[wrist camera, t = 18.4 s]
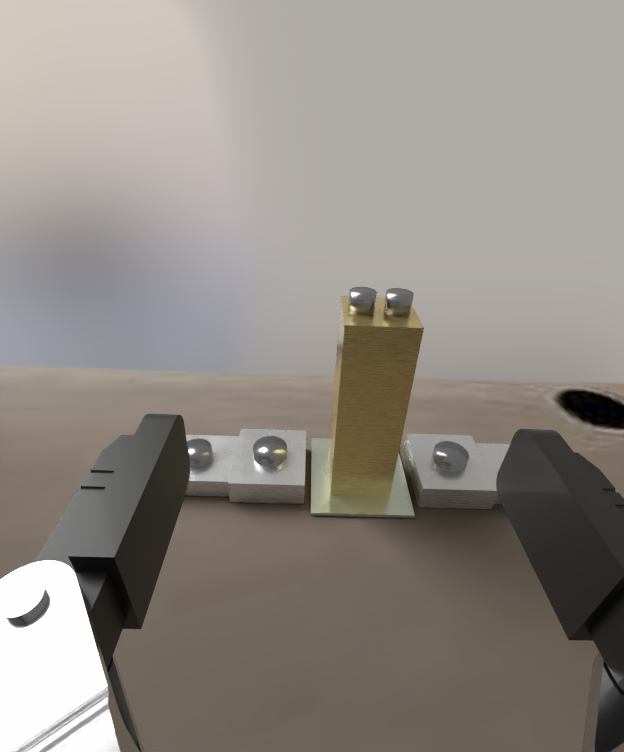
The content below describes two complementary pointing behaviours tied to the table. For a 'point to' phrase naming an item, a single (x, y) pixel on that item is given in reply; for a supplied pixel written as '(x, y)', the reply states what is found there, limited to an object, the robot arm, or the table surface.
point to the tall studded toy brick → (371, 389)
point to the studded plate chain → (287, 473)
